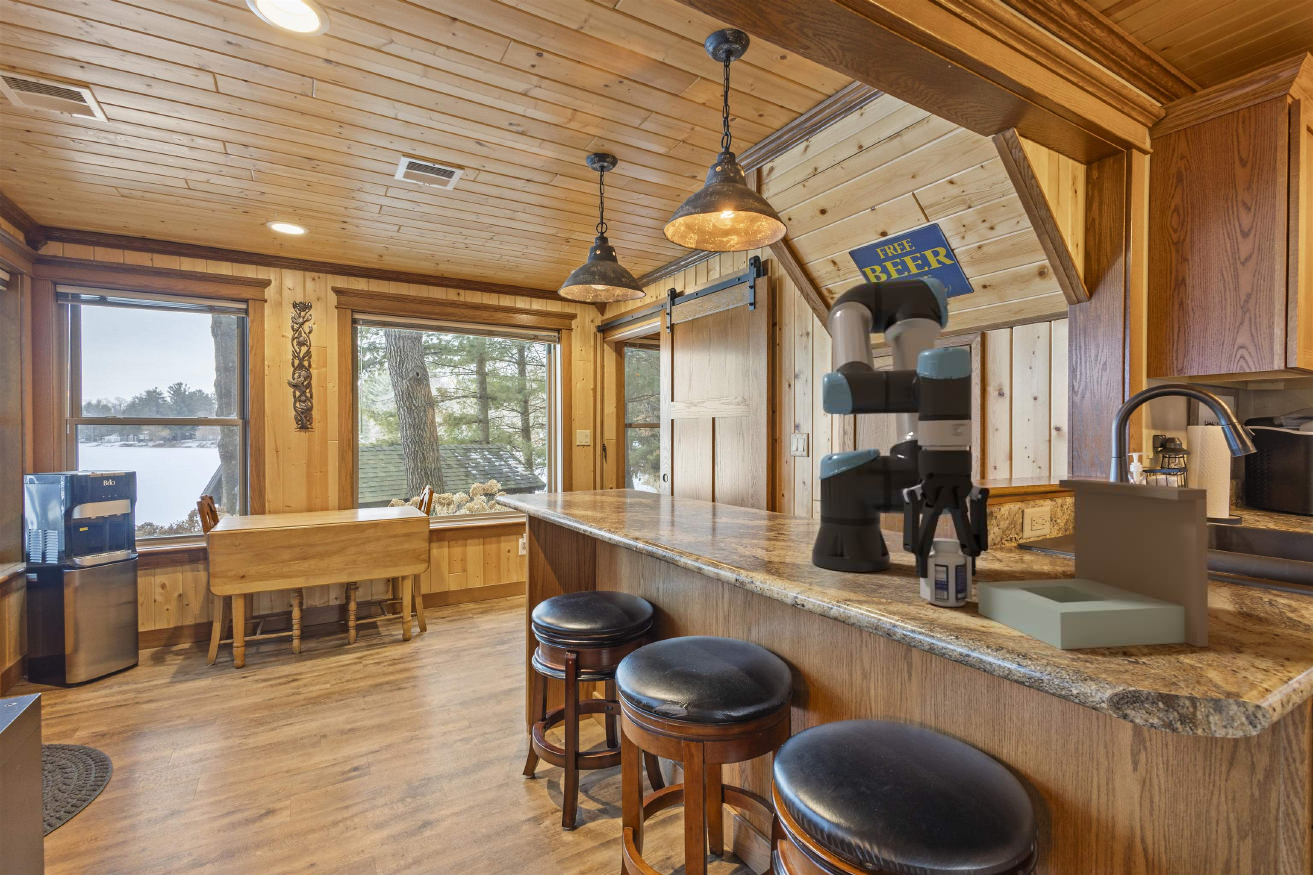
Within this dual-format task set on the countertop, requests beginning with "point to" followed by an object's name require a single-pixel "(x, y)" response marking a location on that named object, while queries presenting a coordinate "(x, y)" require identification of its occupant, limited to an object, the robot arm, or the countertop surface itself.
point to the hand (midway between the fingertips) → (945, 597)
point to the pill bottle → (948, 573)
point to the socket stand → (1118, 572)
